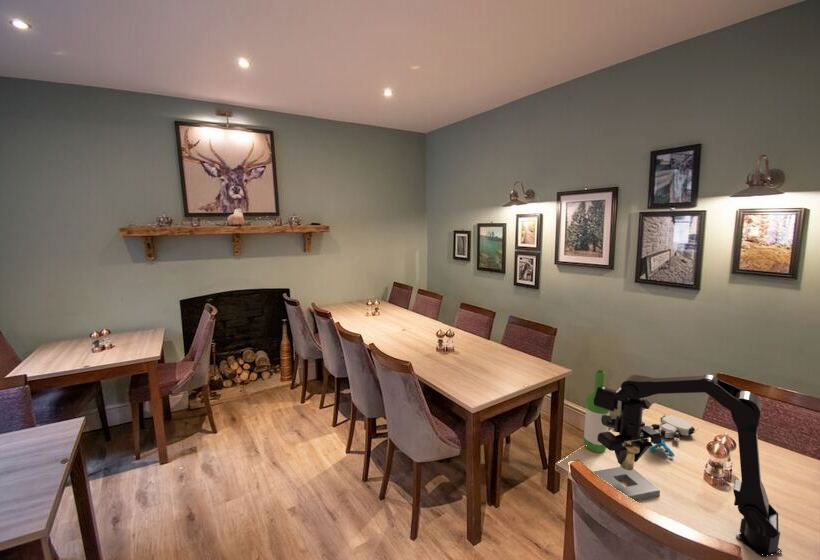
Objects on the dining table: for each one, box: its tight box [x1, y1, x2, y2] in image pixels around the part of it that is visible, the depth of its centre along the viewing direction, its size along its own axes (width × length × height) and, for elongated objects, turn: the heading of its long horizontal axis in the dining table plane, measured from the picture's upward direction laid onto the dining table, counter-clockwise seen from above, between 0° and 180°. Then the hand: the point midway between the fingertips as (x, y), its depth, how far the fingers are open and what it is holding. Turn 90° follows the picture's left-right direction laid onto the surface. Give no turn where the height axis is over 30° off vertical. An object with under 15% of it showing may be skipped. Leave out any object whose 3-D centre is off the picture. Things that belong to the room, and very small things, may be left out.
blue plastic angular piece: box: [648, 439, 675, 457], centre depth 134 cm, size 11×6×10 cm
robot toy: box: [648, 412, 700, 442], centre depth 146 cm, size 12×4×15 cm
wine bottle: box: [583, 369, 611, 453], centre depth 135 cm, size 8×8×30 cm
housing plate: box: [592, 466, 661, 502], centre depth 117 cm, size 12×14×2 cm
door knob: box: [619, 441, 640, 471], centre depth 115 cm, size 6×6×8 cm
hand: (627, 462), depth 116 cm, fingers closed on door knob, 5 cm apart
